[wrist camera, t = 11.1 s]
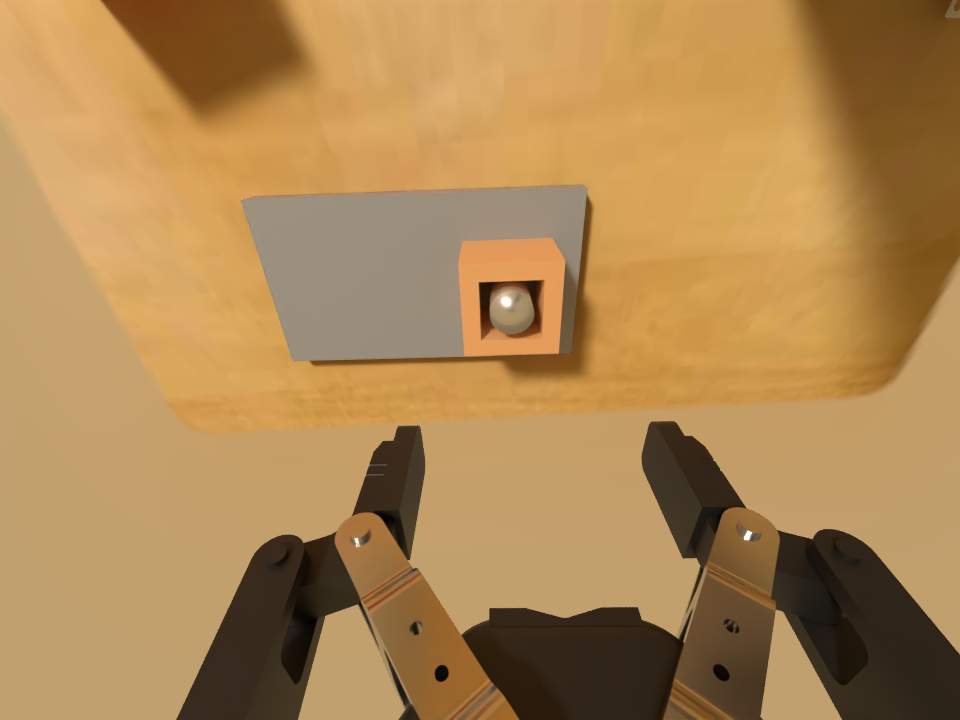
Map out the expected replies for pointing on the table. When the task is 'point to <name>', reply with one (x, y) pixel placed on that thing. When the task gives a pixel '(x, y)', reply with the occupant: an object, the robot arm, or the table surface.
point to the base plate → (398, 264)
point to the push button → (952, 11)
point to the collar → (511, 264)
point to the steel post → (510, 306)
